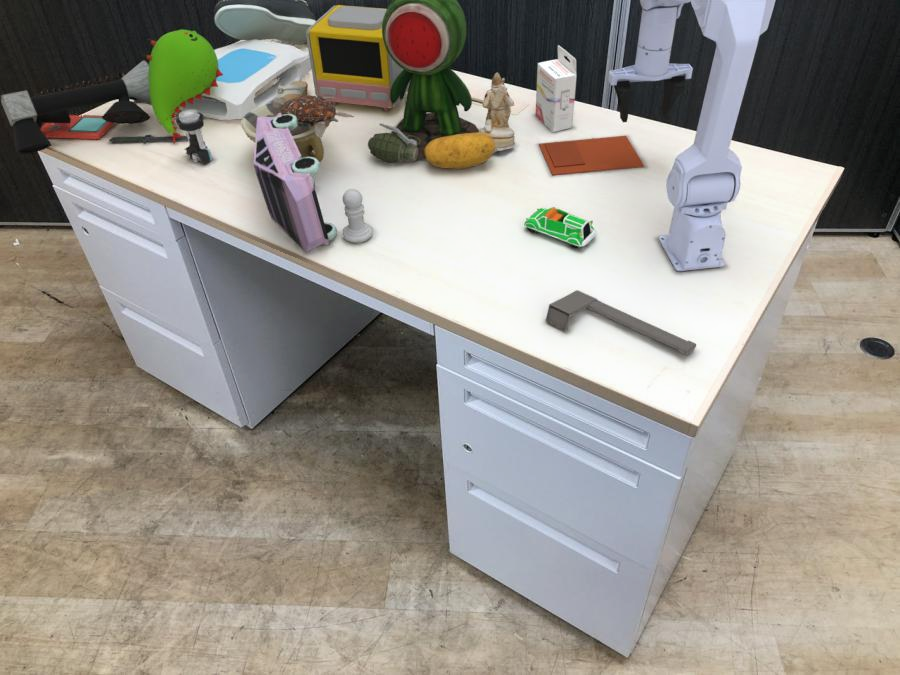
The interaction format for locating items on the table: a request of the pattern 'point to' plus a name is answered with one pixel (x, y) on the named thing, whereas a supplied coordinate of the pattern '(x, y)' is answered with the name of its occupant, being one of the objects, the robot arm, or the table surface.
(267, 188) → the toy car
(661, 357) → the table surface
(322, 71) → the alarm clock
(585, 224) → the toy car
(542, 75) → the ink cartridge box
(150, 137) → the knife
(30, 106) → the telephone
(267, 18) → the boat shoe
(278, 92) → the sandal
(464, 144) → the potato
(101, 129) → the handheld gaming console
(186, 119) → the push button
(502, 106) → the figurine
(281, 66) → the document scanner
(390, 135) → the grenade
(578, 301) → the toilet paper hanger
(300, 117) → the toy
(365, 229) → the chess piece
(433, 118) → the figurine
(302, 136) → the bowl
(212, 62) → the toy
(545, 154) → the rust cloth
